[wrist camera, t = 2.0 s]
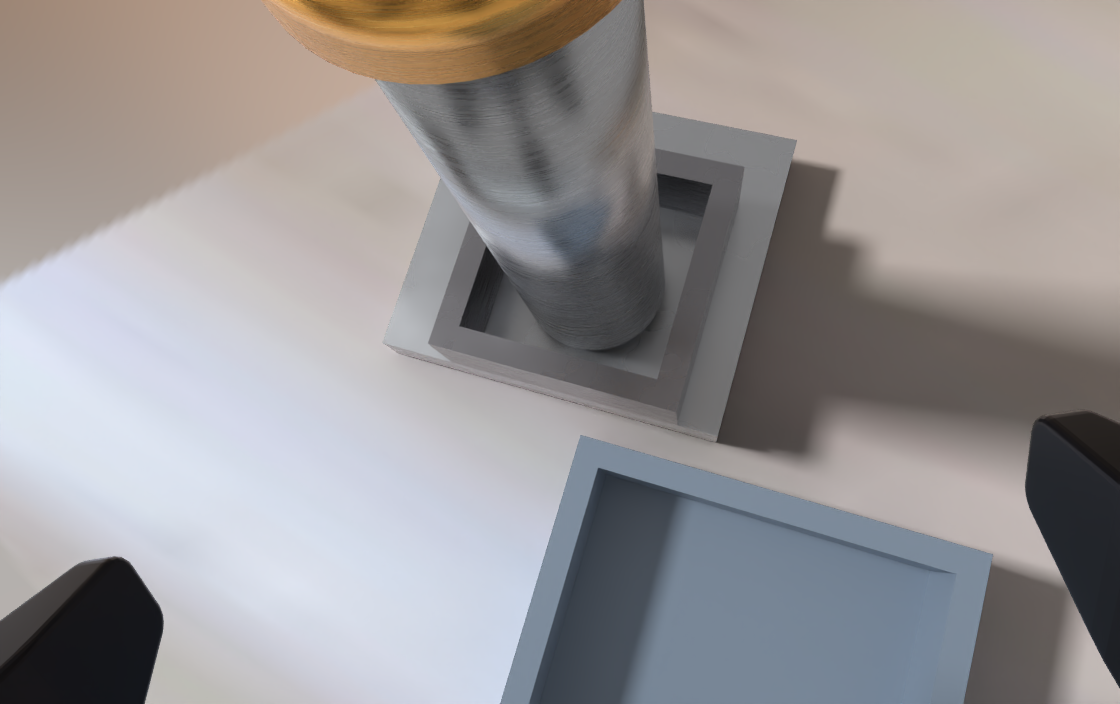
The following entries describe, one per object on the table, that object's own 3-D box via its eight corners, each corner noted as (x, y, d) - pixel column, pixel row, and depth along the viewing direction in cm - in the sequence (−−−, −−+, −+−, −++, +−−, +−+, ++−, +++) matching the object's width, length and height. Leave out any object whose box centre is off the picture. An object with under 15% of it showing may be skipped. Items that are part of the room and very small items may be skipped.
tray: (954, 552, 19) (992, 554, 17) (869, 960, 17) (899, 1028, 15) (592, 447, 21) (580, 434, 18) (486, 805, 19) (458, 843, 17)
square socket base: (790, 161, 22) (807, 98, 19) (715, 442, 20) (721, 424, 17) (486, 99, 24) (456, 33, 21) (398, 353, 22) (352, 322, 19)
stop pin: (705, 220, 21) (747, -459, 7) (657, 390, 20) (589, 23, 6) (537, 183, 22) (264, -480, 8) (484, 343, 21) (70, -70, 7)
